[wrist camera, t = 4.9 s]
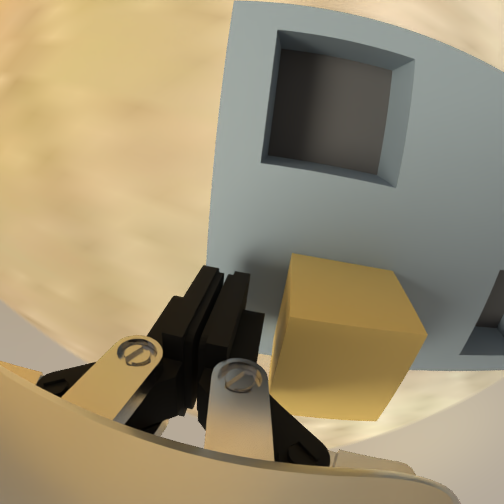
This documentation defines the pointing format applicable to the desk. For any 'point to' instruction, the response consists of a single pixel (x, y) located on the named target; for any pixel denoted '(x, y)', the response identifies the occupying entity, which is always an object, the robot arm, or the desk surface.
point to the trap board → (363, 169)
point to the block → (341, 340)
